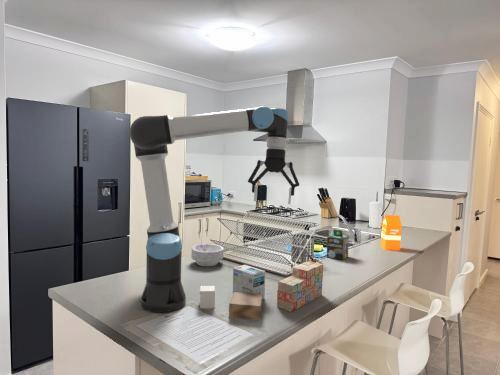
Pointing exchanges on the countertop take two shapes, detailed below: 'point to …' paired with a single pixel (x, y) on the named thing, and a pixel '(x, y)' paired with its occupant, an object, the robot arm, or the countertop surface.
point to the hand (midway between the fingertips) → (272, 202)
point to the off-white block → (207, 296)
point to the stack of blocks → (300, 286)
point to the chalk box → (337, 245)
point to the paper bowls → (207, 254)
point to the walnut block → (245, 306)
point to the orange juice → (391, 232)
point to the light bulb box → (249, 280)
